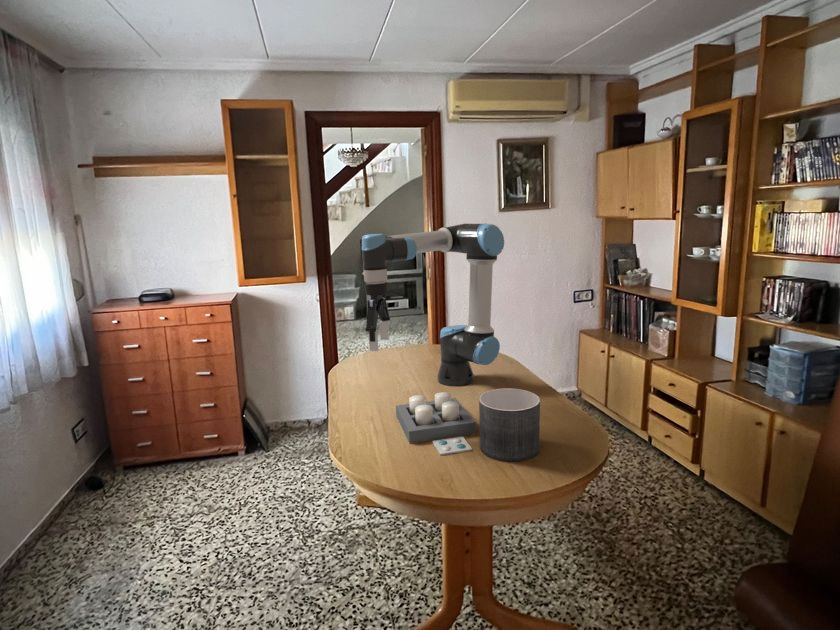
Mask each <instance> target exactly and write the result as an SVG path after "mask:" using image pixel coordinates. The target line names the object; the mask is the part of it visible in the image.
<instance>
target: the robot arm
mask: <svg viewBox="0 0 840 630" xmlns="http://www.w3.org/2000/svg"><path fill="white" fill-rule="evenodd" d="M504 246H505V237H504V234H503V232H502V230H501V229H500V227H498V225H496V224H491V223H486V222H485V223H461V224H456V225H450V226H446V227H445V226H444V227H441V228H439V229H437V230H433V231H424V232H422V231H421V232H415V233H404V234H403V233H402V234H395V235H388V236H385V235H384V234H383V233H371V234H370V233H369V234H365V235H362V237H361V251H362V264H363V265H362V266H363V267H362V268H363V272H362V274H361V275H363V281H364V282H365V283H364V294H365V295H366V296H369V297H370V299H368V300H367V302H366V303H367V309H366V310H367V311H366V324H365V329H364V331H365V332H368V347H369V349H368V350H369V351H370V352H378V351H379V339H380V340H381V341H388V340H390V339H389V326H388V325H389V323H388V322H389V321H391V317H390V314H389V313H390V312H389V308H388V304H387V303H388V302H387V299H386V297H387V294H388V293H389V288H388V287H389V286H388V282H387V281H388V269H387V268H388V267H387V266H388V265H387V264H388V263H392V262H401V261H405V262H407V261H408V260H409V261H410V260H413V259H414V258H415V257H416V255H417V254H421V253H430V252H436V251H437V252H439V251H440V252H442V253H461V254H466V261H467V262H468V263H469V286H468V287H469V289H468V290H469V291H468V293H469V294H468V295H469V296H468V319H467V320H468V321H467V323H468V325H467V324H455V325H449V326H445V327H442V328H441V329H440V336H439V341H440V342H439V343H440V344H439V345H440V361H441V362H440V365H439V368H438V372H437V382H438V383H440V384H442V385H444V386H449V387H451V386H452V387H456V386H460V387H461V386H465V385H469V384H472V383H473V382H474V379H475V378H474V372H473V368H472V367H471V364H470V362H471V363H473V364H476V365H482V366H488V365H490V364H492V363H493V362H494V361H495V359H496V358H497V357H498V355H499V353H500V349H501V348H500V347H501V345H500V341H499V339H498V338H497V337H495V329H494V328H493V327H492V326H491V318H492V293H493V292H492V290H493V267H494V266H493V265H494V264H495V262H497V261H498V255H500V254H501V253H502V250H504ZM378 318H379V319H378ZM378 320H380V321H379V333H380V334H379V337H380V338H379V339H378V330H377V326H378Z"/></svg>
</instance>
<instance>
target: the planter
mask: <svg viewBox="0 0 840 630" xmlns="http://www.w3.org/2000/svg"><path fill="white" fill-rule="evenodd" d="M478 409H479V410H478V412H479V413H478V414H479V415H478V417H479V418H478V419H479V448H480V450H481V452H482V453H483V454H484V455H485V456H487V457H489V458H491V459H494V460H497V461H503V462H522V461H527V460H530V459H531V458H534V457H535V456H537V455H538V454H539V451H540V421H541V420H540V418H541V398H540V397H539V396H538V394H536V393H534V392H532V391H529V390H525V389H520V388H511V387H509V388H496V389H490V390H488V391H485V392H483V393H481V394H480V396H479V397H478Z"/></svg>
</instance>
